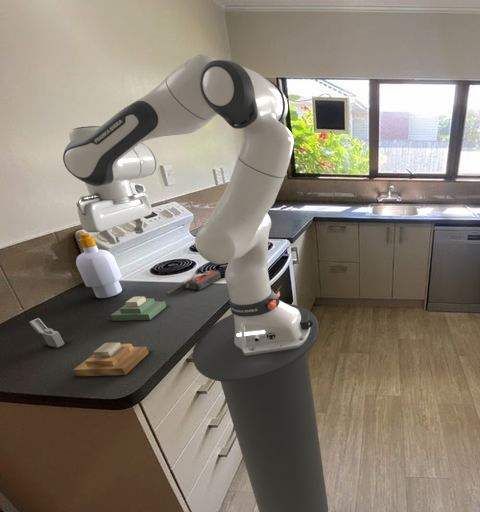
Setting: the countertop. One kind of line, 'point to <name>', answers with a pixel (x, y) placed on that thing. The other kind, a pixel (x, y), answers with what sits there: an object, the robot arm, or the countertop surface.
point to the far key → (136, 301)
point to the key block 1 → (139, 311)
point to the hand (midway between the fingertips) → (128, 237)
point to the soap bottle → (98, 268)
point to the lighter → (47, 333)
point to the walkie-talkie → (199, 281)
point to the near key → (107, 350)
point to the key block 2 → (112, 362)
